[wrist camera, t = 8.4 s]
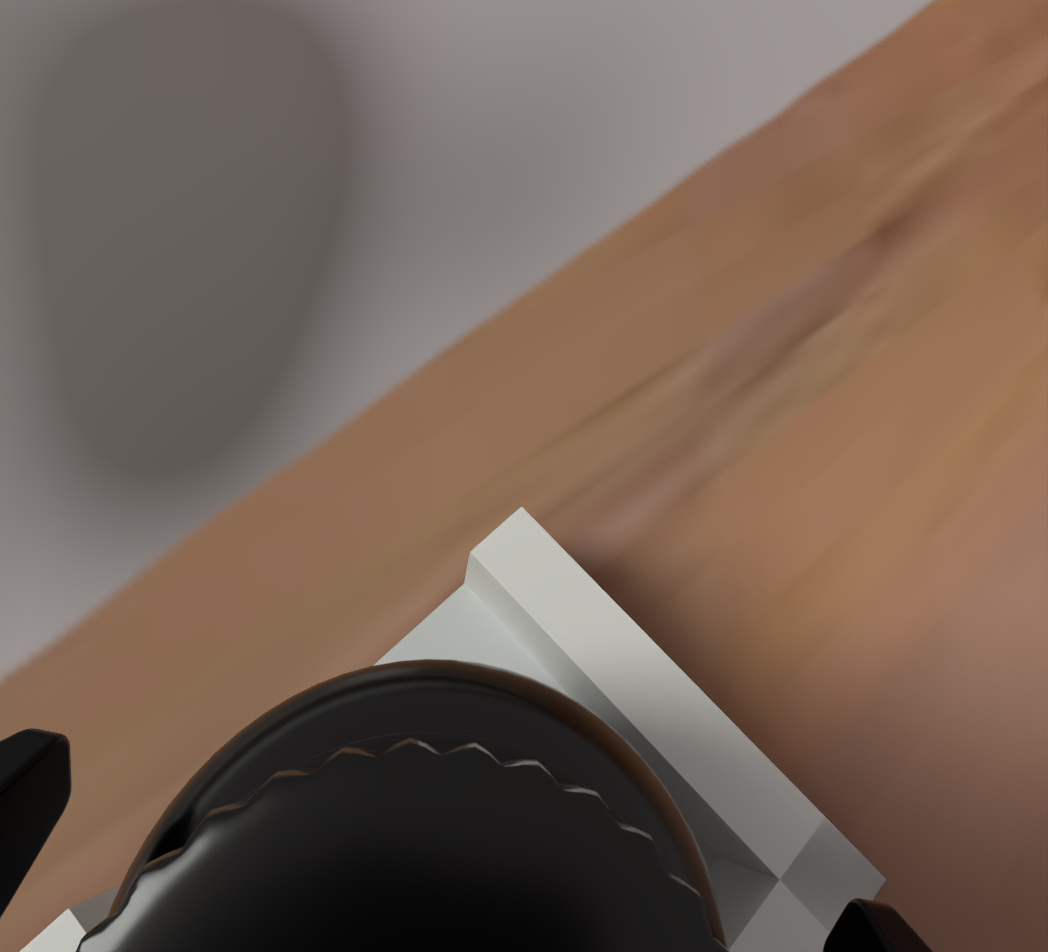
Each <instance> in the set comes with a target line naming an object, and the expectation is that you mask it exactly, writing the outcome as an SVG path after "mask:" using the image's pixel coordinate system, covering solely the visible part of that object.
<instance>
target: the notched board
mask: <svg viewBox="0 0 1048 952" xmlns="http://www.w3.org/2000/svg"><path fill="white" fill-rule="evenodd" d="M421 659H442V660H459V661H467V662H475V663H482V664H486V665H491V666H495V667H499V668H504V669H507V670H510V671H513V672H516V673H519V674H522V675H525V676H528V677H531V678H533V679H536V680H538V681H540V682H542V683H544V684H547V685H549V686H551V687H553V688H555V689H557V690H559V691H561V692H562V693H564V694H566V695H568V696H569V697H571V698H573V699H574V700H576V701H578V702H580V703H581V704H582V705H584V706H585V707H587V708H588V709H589V710H591V711H592V712H594V713H595V714H596V715H598V716H599V717H600V718H602V719H603V720H604V721H605V722H606V723H608V724H609V725H610V726H611V727H612V728H613V729H614V730H616V731H617V732H618V733H619V734H620V735H621V736H622V737H623V738H624V739H625V740H626V741H627V742H628V743H629V744H630V745H631V746H632V747H633V748H634V749H635V750H636V751H637V752H638V753H639V754H640V755H641V756H642V758H643V759H644V760H645V761H646V763H647V764H648V765H649V766H650V768H651V769H652V770H653V771H654V773H655V774H656V775H657V776H658V778H659V779H660V780H661V782H662V783H663V785H664V786H665V788H666V789H667V791H668V792H669V794H670V795H671V797H672V798H673V800H674V801H675V803H676V805H677V806H678V808H679V810H680V812H681V813H682V815H683V817H684V819H685V821H686V823H687V825H688V826H689V828H690V830H691V832H692V834H693V836H694V838H695V840H696V843H697V845H698V847H699V850H700V852H701V854H702V856H703V859H704V861H705V863H706V866H707V869H708V872H709V875H710V878H711V880H712V883H713V886H714V889H715V892H716V895H717V898H718V902H719V906H720V910H721V914H722V918H723V922H724V927H725V931H726V936H727V942H728V948H729V951H730V952H823V947H824V944H825V941H826V938H827V937H828V935H829V933H830V932H831V930H832V928H833V927H834V925H835V923H836V922H837V920H838V918H839V917H840V915H841V913H842V912H843V910H844V908H845V907H846V905H847V904H848V902H849V901H851V900H853V899H855V898H861V899H866V900H871V901H872V900H873V899H874V897H875V896H876V894H877V893H878V891H879V890H880V888H881V887H882V885H883V884H884V882H885V881H886V878H885V877H884V876H883V875H882V874H881V873H880V872H879V871H878V870H877V869H876V868H875V867H874V866H873V865H872V864H871V863H870V862H869V861H868V860H867V859H866V858H865V857H864V856H863V855H862V854H861V853H860V852H859V851H858V850H857V849H856V848H855V847H854V846H853V845H852V843H851V842H850V841H849V840H848V839H847V838H846V837H845V836H844V835H843V834H842V833H841V832H840V831H839V830H838V829H837V828H836V827H835V826H834V825H833V824H832V823H831V822H830V821H829V820H828V819H827V818H826V817H825V816H824V815H823V814H822V813H821V812H820V811H819V810H818V809H817V808H816V807H815V806H814V805H813V804H812V803H811V802H810V801H809V800H808V799H807V798H806V797H805V796H804V794H803V793H802V792H801V791H800V790H799V789H798V788H797V787H796V786H795V785H794V784H793V783H792V782H791V781H790V780H789V779H788V778H787V777H786V776H785V775H784V774H783V773H782V772H781V771H780V770H779V769H778V768H777V767H776V766H775V765H774V764H773V763H772V762H771V761H770V760H769V759H768V758H767V757H766V756H765V755H764V754H763V753H762V752H761V751H760V750H759V749H758V748H757V746H756V745H755V744H754V743H753V742H752V741H751V740H750V739H749V738H748V737H747V736H746V735H745V734H744V733H743V732H742V731H741V730H740V729H739V728H738V727H737V726H736V725H735V724H734V723H733V722H732V721H731V720H730V719H729V718H728V717H727V716H726V715H725V714H724V713H723V712H722V711H721V710H720V709H719V708H718V707H717V706H716V705H715V704H714V703H713V702H712V701H711V700H710V698H709V697H708V696H707V695H706V694H705V693H704V692H703V691H702V690H701V689H700V688H699V687H698V686H697V685H696V684H695V683H694V682H693V681H692V680H691V679H690V678H689V677H688V676H687V675H686V674H685V673H684V672H683V671H682V670H681V669H680V668H679V667H678V666H677V665H676V664H675V663H674V662H673V661H672V660H671V659H670V658H669V657H668V656H667V655H666V654H665V653H664V652H663V651H662V649H661V648H660V647H659V646H658V645H657V644H656V643H655V642H654V641H653V640H652V639H651V638H650V637H649V636H648V635H647V634H646V633H645V632H644V631H643V630H642V629H641V628H640V627H639V626H638V625H637V624H636V623H635V622H634V621H633V620H632V619H631V618H630V617H629V616H628V615H627V614H626V613H625V612H624V611H623V610H622V609H621V608H620V607H619V606H618V605H617V604H616V603H615V601H614V600H613V599H612V598H611V597H610V596H609V595H608V594H607V593H606V592H605V591H604V590H603V589H602V588H601V587H600V586H599V585H598V584H597V583H596V582H595V581H594V580H593V579H592V578H591V577H590V576H589V575H588V574H587V573H586V572H585V571H584V570H583V569H582V568H581V567H580V566H579V565H578V564H577V563H576V562H575V561H574V560H573V559H572V558H571V557H570V556H569V555H568V554H567V552H566V551H565V550H564V549H563V548H562V547H561V546H560V545H559V544H558V543H557V542H556V541H555V540H554V539H553V538H552V537H551V536H550V535H549V534H548V533H547V532H546V531H545V530H544V529H543V528H542V527H541V526H540V525H539V524H538V523H537V522H536V521H535V520H534V519H533V518H532V517H531V516H530V515H529V514H528V513H527V512H526V511H525V510H524V509H523V508H522V507H520V508H519V509H518V510H517V511H516V512H515V513H513V514H512V515H511V516H510V517H509V518H508V519H507V520H506V521H504V522H503V523H502V524H501V525H500V526H499V527H498V528H497V529H495V530H494V531H493V532H492V533H491V534H490V535H489V536H488V537H486V538H485V539H484V540H483V541H482V542H481V543H480V544H479V545H477V546H476V547H475V548H474V549H473V550H472V551H471V552H470V555H469V561H468V566H467V571H466V576H465V582H464V584H463V585H462V586H461V587H460V588H459V589H458V590H456V591H455V592H454V593H453V594H452V595H451V596H450V597H449V598H448V599H447V600H445V601H444V602H443V603H442V604H441V605H440V606H439V607H438V608H437V609H435V610H434V611H433V612H432V613H431V614H430V615H429V616H428V617H427V618H426V619H424V620H423V621H422V622H421V623H420V624H419V625H418V626H417V627H416V628H414V629H413V630H412V631H411V632H410V633H409V634H408V635H407V636H406V637H405V638H403V639H402V640H401V641H400V642H399V643H398V644H397V645H396V646H395V647H393V648H392V649H391V650H390V651H389V652H388V653H387V654H386V655H385V656H383V657H382V658H381V659H380V660H379V661H378V662H377V663H376V664H375V665H381V664H386V663H392V662H397V661H408V660H421ZM375 665H374V666H375ZM119 889H120V886H118V887H116V888H114V889H112V890H109V891H107V892H105V893H102V894H100V895H98V896H96V897H93V898H91V899H89V900H86V901H84V902H82V903H79V904H77V905H75V906H73V907H70V908H68V909H67V910H66V911H65V912H64V913H63V914H62V915H60V916H59V917H58V918H57V919H56V920H55V921H54V922H53V923H51V924H50V925H49V926H48V927H47V928H46V929H45V930H44V931H42V932H41V933H40V934H39V935H38V936H37V937H36V938H35V939H33V940H32V941H31V942H30V943H29V944H28V945H27V946H25V947H24V948H23V949H22V950H21V951H20V952H76V950H77V948H78V945H79V943H80V940H81V939H82V938H83V937H84V935H85V934H86V933H87V932H89V931H90V930H91V929H92V928H94V927H95V926H96V925H98V924H99V923H100V922H102V921H103V920H104V919H105V918H107V917H108V914H109V911H110V909H111V906H112V903H113V901H114V899H115V897H116V895H117V893H118V891H119Z"/></svg>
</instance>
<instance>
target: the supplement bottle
mask: <svg viewBox="0 0 1048 952" xmlns="http://www.w3.org/2000/svg"><path fill="white" fill-rule="evenodd" d="M76 952H730V951H729V948H728V942H727V936H726V931H725V927H724V922H723V918H722V914H721V910H720V906H719V902H718V898H717V895H716V892H715V889H714V886H713V883H712V880H711V878H710V875H709V872H708V869H707V866H706V863H705V861H704V859H703V856H702V854H701V852H700V850H699V847H698V845H697V843H696V840H695V838H694V836H693V834H692V832H691V830H690V828H689V826H688V825H687V823H686V821H685V819H684V817H683V815H682V813H681V812H680V810H679V808H678V806H677V805H676V803H675V801H674V800H673V798H672V797H671V795H670V794H669V792H668V791H667V789H666V788H665V786H664V785H663V783H662V782H661V780H660V779H659V778H658V776H657V775H656V774H655V773H654V771H653V770H652V769H651V768H650V766H649V765H648V764H647V763H646V761H645V760H644V759H643V758H642V756H641V755H640V754H639V753H638V752H637V751H636V750H635V749H634V748H633V747H632V746H631V745H630V744H629V743H628V742H627V741H626V740H625V739H624V738H623V737H622V736H621V735H620V734H619V733H618V732H617V731H616V730H614V729H613V728H612V727H611V726H610V725H609V724H608V723H606V722H605V721H604V720H603V719H602V718H600V717H599V716H598V715H596V714H595V713H594V712H592V711H591V710H589V709H588V708H587V707H585V706H584V705H582V704H581V703H580V702H578V701H576V700H574V699H573V698H571V697H569V696H568V695H566V694H564V693H562V692H561V691H559V690H557V689H555V688H553V687H551V686H549V685H547V684H544V683H542V682H540V681H538V680H536V679H533V678H531V677H528V676H525V675H522V674H519V673H516V672H513V671H510V670H507V669H504V668H499V667H495V666H491V665H486V664H482V663H475V662H467V661H459V660H442V659H421V660H408V661H397V662H392V663H386V664H381V665H375V666H370V667H367V668H363V669H359V670H356V671H352V672H349V673H345V674H342V675H340V676H337V677H334V678H332V679H329V680H327V681H324V682H321V683H319V684H316V685H314V686H312V687H310V688H308V689H306V690H304V691H302V692H300V693H298V694H296V695H294V696H292V697H290V698H288V699H287V700H285V701H284V702H282V703H280V704H279V705H277V706H275V707H274V708H272V709H271V710H269V711H267V712H266V713H264V714H263V715H261V716H260V717H259V718H257V719H256V720H255V721H253V722H252V723H251V724H249V725H248V726H246V727H245V728H244V729H242V730H241V731H240V732H238V733H237V734H236V735H235V736H234V737H233V738H232V739H230V740H229V741H228V742H227V743H226V744H225V745H224V746H223V747H221V748H220V749H219V750H218V751H217V752H216V753H215V754H214V755H213V756H212V757H211V758H210V759H209V760H208V761H207V762H206V763H205V764H204V765H203V766H202V767H201V768H200V769H199V770H198V771H197V772H196V773H195V774H194V776H193V777H192V778H191V779H190V780H189V781H188V782H187V784H186V785H185V786H184V787H183V789H182V790H181V791H180V792H179V793H178V795H177V796H176V797H175V798H174V800H173V801H172V802H171V803H170V805H169V806H168V807H167V808H166V810H165V811H164V813H163V814H162V816H161V817H160V819H159V820H158V822H157V823H156V825H155V826H154V827H153V829H152V830H151V832H150V833H149V835H148V836H147V838H146V840H145V841H144V843H143V845H142V847H141V848H140V850H139V852H138V854H137V855H136V857H135V859H134V861H133V862H132V864H131V866H130V868H129V869H128V872H127V874H126V876H125V878H124V880H123V882H122V884H121V886H120V889H119V891H118V893H117V895H116V897H115V899H114V901H113V903H112V906H111V909H110V911H109V914H108V917H107V918H105V919H104V920H103V921H102V922H100V923H99V924H98V925H96V926H95V927H94V928H92V929H91V930H90V931H89V932H87V933H86V934H85V935H84V937H83V938H82V939H81V940H80V943H79V945H78V948H77V950H76Z"/></svg>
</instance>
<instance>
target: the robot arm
mask: <svg viewBox="0 0 1048 952" xmlns="http://www.w3.org/2000/svg"><path fill="white" fill-rule="evenodd" d="M70 794H71V761H70V744H69V740H68V739H67V737H66V736H65V735H63V734H59V733H54V732H50V731H45V730H40V729H26V730H23V731H20V732H18V733H16V734H14V735H12V736H10V737H8V738H6V739H4V740H2V741H0V918H1V916H2V915H3V913H4V911H5V910H6V908H7V906H8V905H9V903H10V901H11V900H12V898H13V896H14V895H15V893H16V891H17V889H18V888H19V886H20V884H21V883H22V881H23V879H24V878H25V876H26V874H27V873H28V871H29V869H30V868H31V866H32V864H33V863H34V861H35V859H36V857H37V856H38V854H39V852H40V851H41V849H42V847H43V846H44V844H45V842H46V841H47V839H48V837H49V836H50V834H51V832H52V831H53V829H54V827H55V826H56V824H57V822H58V820H59V819H60V817H61V815H62V814H63V812H64V810H65V808H66V806H67V803H68V801H69V798H70ZM823 952H933V951H932V950H931V949H930V948H929V947H928V946H927V945H926V943H925V942H924V941H923V940H922V939H921V938H920V937H919V936H918V935H917V933H916V932H915V931H914V930H913V929H912V928H911V927H910V926H909V925H908V923H907V922H906V921H905V920H904V919H903V918H902V917H901V916H900V915H899V913H898V912H897V911H895V910H894V909H893V908H892V907H891V906H889V905H887V904H884V903H881V902H876V901H871V900H866V899H861V898H855V899H853V900H851V901H849V902H848V904H847V905H846V907H845V908H844V910H843V912H842V913H841V915H840V917H839V918H838V920H837V922H836V923H835V925H834V927H833V928H832V930H831V932H830V933H829V935H828V937H827V938H826V941H825V944H824V947H823Z"/></svg>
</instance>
